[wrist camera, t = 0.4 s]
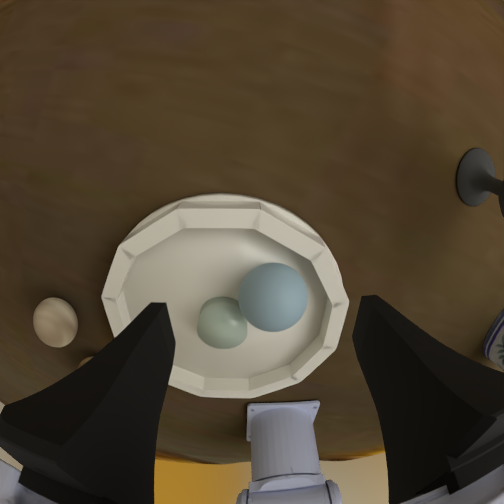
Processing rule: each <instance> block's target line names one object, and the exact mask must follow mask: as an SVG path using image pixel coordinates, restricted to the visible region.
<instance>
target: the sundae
mask: <svg viewBox="0 0 504 504" xmlns="http://www.w3.org/2000/svg"><path fill="white" fill-rule="evenodd" d="M457 187H458V192H459V195H460V197H461V199H462V200H463V201H464V203H466V204H467V205H470V206H477V205H480V204H482V203H483V202H484V201H485V200H486V199H487V198H488V196H489V195H490V193H491V192H492V193H494V194H496V195H498V196H499V204H500V208H501V212H502V215H503V217H504V180H503V181H501V180H498V179H496V178H495V169H494V164H493V161H492V159H491V157H490V156H489V154H488V153H487V152H486V151H485V150H483V149H481V148H474V149H472V150H470V151H469V152H467V153H466V155H465V156H464V157H463V159H462V161H461V162H460V165H459V168H458V172H457Z"/></svg>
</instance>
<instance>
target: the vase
mask: <svg viewBox="0 0 504 504" xmlns="http://www.w3.org/2000/svg"><path fill="white" fill-rule="evenodd" d="M483 354H484V356H485V357H487V358H488V359H490V360H491V361H492V362H494V363H495V364H496V365H497V366H499V367H500V368H501V369H502V370H503V371H504V310H503V311H502V312H501V313H500V315H499V316H498V317H497V319H496V320H495V322H494V323H493V325H492V327H491V328H490V330H489V332H488V334H487V336H486V338H485V341H484V344H483Z"/></svg>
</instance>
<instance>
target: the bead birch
mask: <svg viewBox="0 0 504 504" xmlns="http://www.w3.org/2000/svg"><path fill="white" fill-rule="evenodd" d="M33 325H34V329H35V332H36V334H37V335H38V337H39V338H40V339H41V340H42V341H43V342H44V343H45V344H47V345H49V346H52V347H63V346H65V345H67V344H69V343H70V342H71V341H72V340H73V339H74V337H75V335H76V333H77V329H78V320H77V316H76V313H75V311H74V309H73V308H72V307H71V305H70V304H69V303H67V302H66V301H64V300H63V299H60V298H47V299H45V300H43V301H42V302H41V303H40V304H39V305H38V306H37V307H36V309H35V312H34V316H33Z"/></svg>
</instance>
